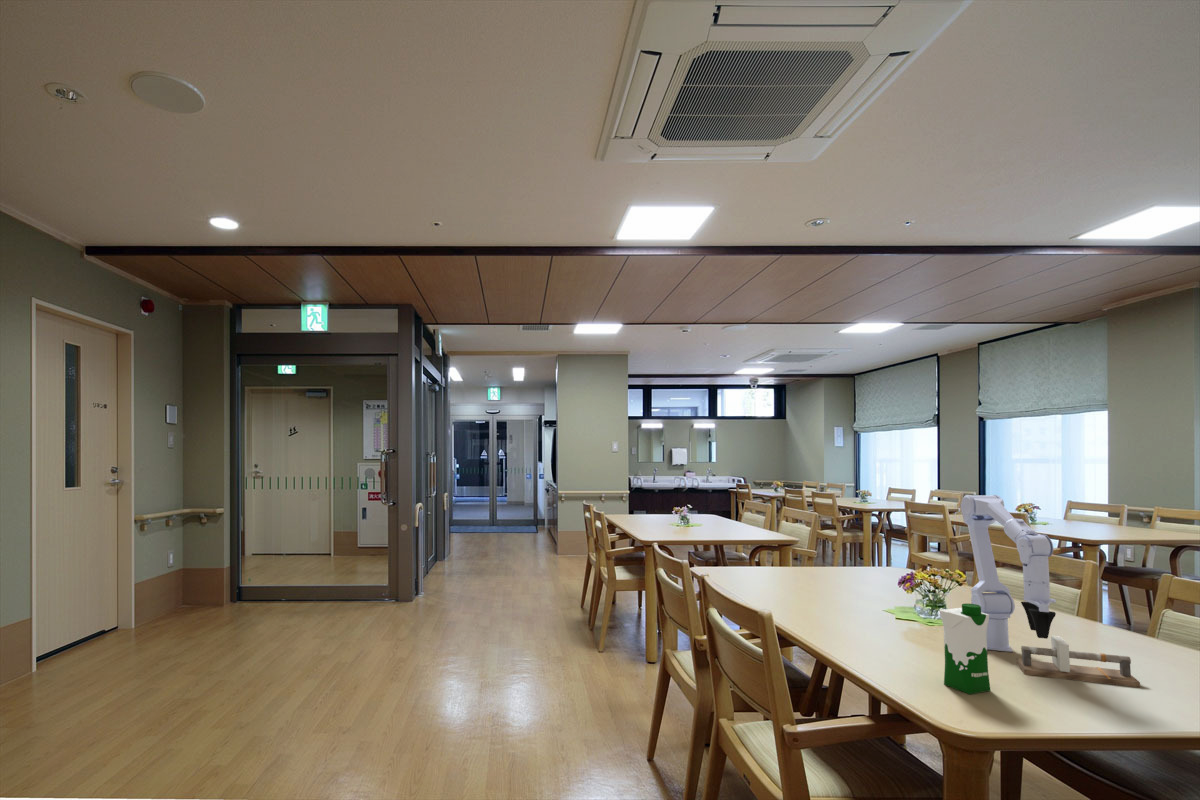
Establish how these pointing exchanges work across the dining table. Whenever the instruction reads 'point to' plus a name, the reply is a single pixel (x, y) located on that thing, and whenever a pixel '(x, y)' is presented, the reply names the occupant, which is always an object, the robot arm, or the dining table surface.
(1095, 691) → the dining table surface
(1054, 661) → the collar
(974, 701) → the dining table surface
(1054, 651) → the slider rail
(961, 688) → the milk carton
